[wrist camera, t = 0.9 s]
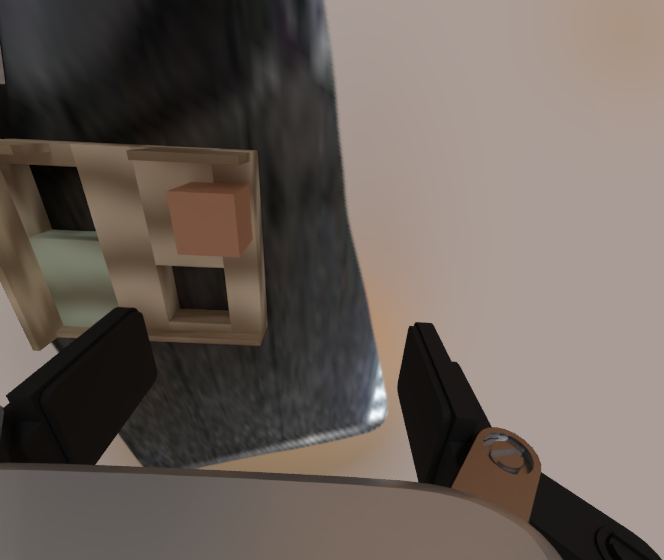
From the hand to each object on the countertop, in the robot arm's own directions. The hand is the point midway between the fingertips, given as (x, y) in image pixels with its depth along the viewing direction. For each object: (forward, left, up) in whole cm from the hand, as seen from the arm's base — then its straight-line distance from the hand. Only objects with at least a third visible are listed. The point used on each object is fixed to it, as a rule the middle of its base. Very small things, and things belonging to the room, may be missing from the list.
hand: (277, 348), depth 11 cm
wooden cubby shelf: (+3, -15, -19) cm, 24 cm away
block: (-1, -7, -16) cm, 18 cm away
